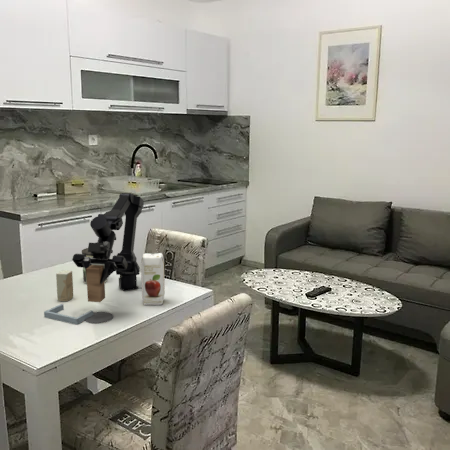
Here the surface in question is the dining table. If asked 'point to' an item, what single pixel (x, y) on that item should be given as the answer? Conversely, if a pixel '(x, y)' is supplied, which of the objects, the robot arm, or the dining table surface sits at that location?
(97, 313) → the coaster
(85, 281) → the coffee can
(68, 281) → the box
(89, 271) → the walnut block
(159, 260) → the juice carton
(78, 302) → the dining table surface
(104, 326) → the dining table surface
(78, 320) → the grey u-frame
